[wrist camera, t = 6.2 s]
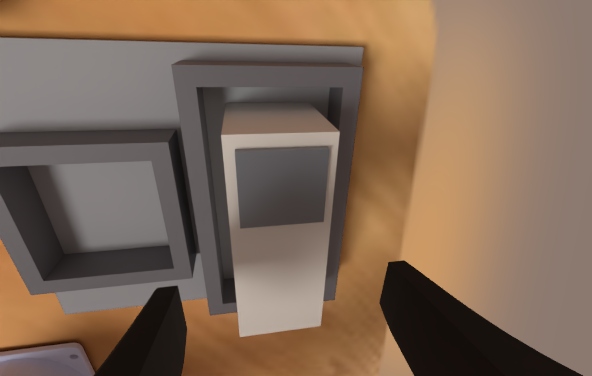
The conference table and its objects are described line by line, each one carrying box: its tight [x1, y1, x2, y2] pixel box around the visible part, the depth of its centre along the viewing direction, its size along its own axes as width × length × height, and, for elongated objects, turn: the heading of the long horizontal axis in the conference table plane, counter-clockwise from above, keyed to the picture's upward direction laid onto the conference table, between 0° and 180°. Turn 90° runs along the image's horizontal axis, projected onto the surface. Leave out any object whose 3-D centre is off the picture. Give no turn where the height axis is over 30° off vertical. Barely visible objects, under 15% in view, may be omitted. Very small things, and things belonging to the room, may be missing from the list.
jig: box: [0, 37, 364, 315], centre depth 15 cm, size 15×17×3 cm
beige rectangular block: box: [221, 102, 340, 337], centre depth 14 cm, size 10×4×5 cm, turn 178°
